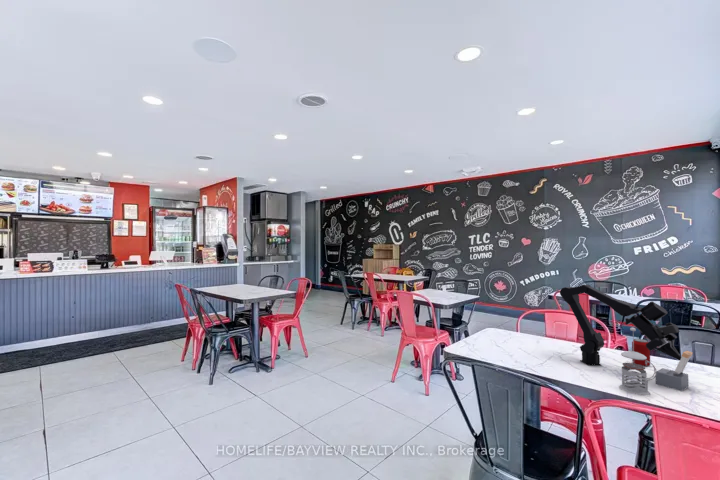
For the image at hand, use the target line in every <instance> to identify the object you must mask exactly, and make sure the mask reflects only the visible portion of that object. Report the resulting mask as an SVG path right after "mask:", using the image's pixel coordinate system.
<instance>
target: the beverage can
mask: <svg viewBox="0 0 720 480" xmlns="http://www.w3.org/2000/svg"><path fill="white" fill-rule="evenodd" d="M647 343H649V340H646V339H642V338H634V351H635V352H638V353H640V354H643V355H644V356H646V357H647V359H646V360H647V361H646V360H635V359H634V364H638V365H641V366H644V367H648V366H650V365H651V364H650V363H649V362H651V351H650V350H649V349H648V348H647V347H646V344H647ZM631 351H633V340H632V341H631ZM631 360H632V362H633V359H631ZM645 361H646V362H647V365H646V364H645ZM648 361H649V362H648Z"/></svg>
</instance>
